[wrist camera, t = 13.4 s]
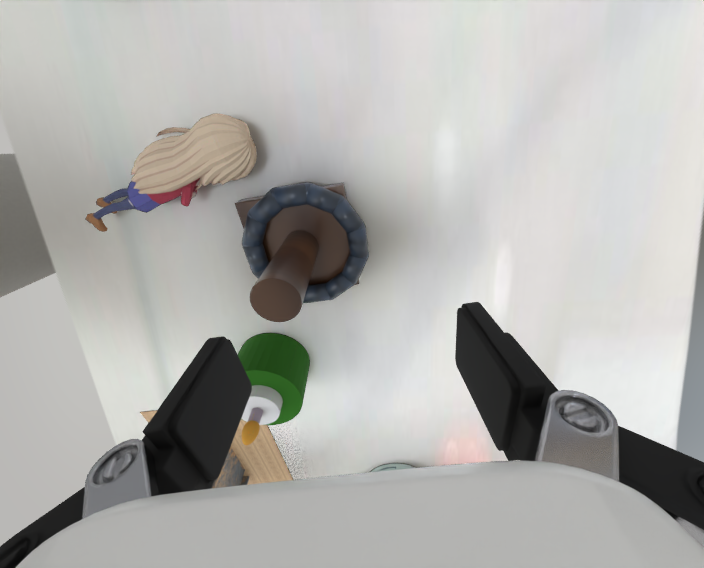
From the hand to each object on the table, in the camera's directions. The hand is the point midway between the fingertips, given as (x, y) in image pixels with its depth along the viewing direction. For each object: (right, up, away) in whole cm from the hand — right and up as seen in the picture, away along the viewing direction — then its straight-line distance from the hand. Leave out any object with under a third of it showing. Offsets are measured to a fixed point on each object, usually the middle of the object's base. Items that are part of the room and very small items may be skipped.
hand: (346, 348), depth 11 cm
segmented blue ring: (-4, +6, +12) cm, 13 cm away
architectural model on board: (-19, -25, +31) cm, 44 cm away
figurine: (-14, +12, +11) cm, 21 cm away
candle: (-9, -6, +21) cm, 24 cm away
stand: (-4, +7, +14) cm, 16 cm away
